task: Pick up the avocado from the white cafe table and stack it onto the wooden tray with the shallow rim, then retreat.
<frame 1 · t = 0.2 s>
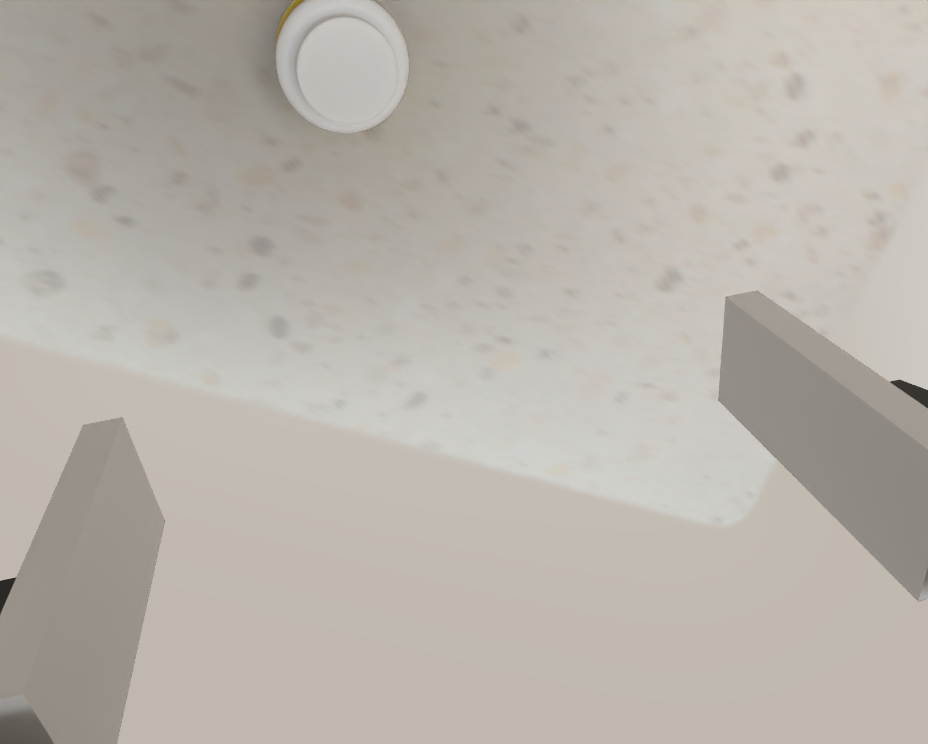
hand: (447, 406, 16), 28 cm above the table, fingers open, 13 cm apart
supplement bottle: (332, 47, 38), on the table
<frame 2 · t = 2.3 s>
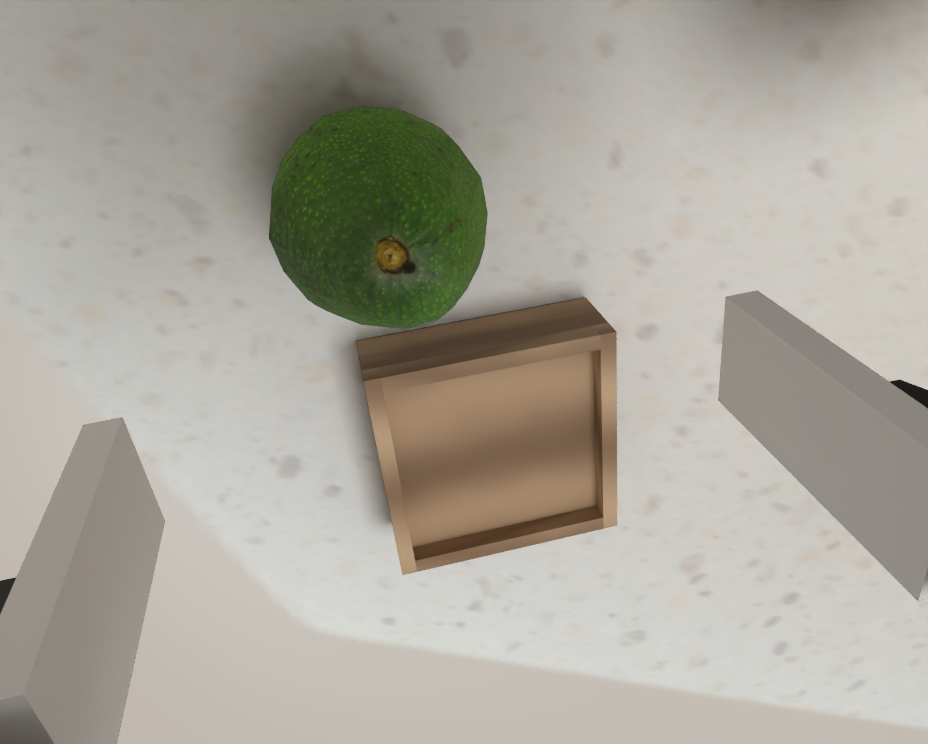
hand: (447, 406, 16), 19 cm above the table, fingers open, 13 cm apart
wooden tray: (483, 417, 39), on the table
avocado: (365, 183, 32), on the table
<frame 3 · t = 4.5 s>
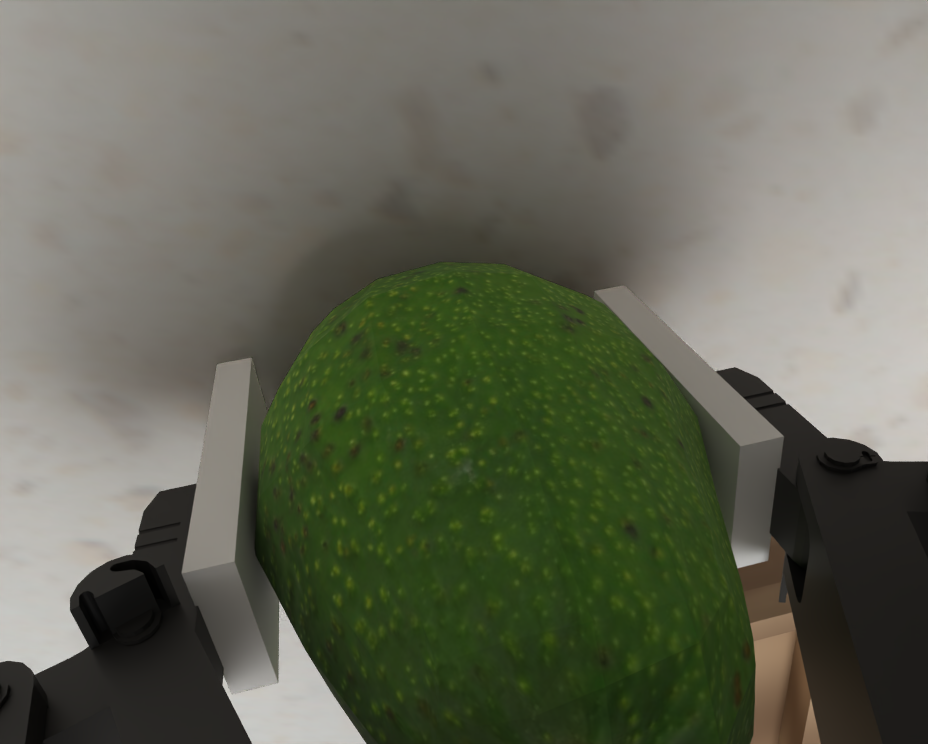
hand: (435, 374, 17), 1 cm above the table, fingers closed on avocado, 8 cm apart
wooden tray: (597, 670, 25), on the table
avocado: (429, 355, 18), on the table, touching gripper
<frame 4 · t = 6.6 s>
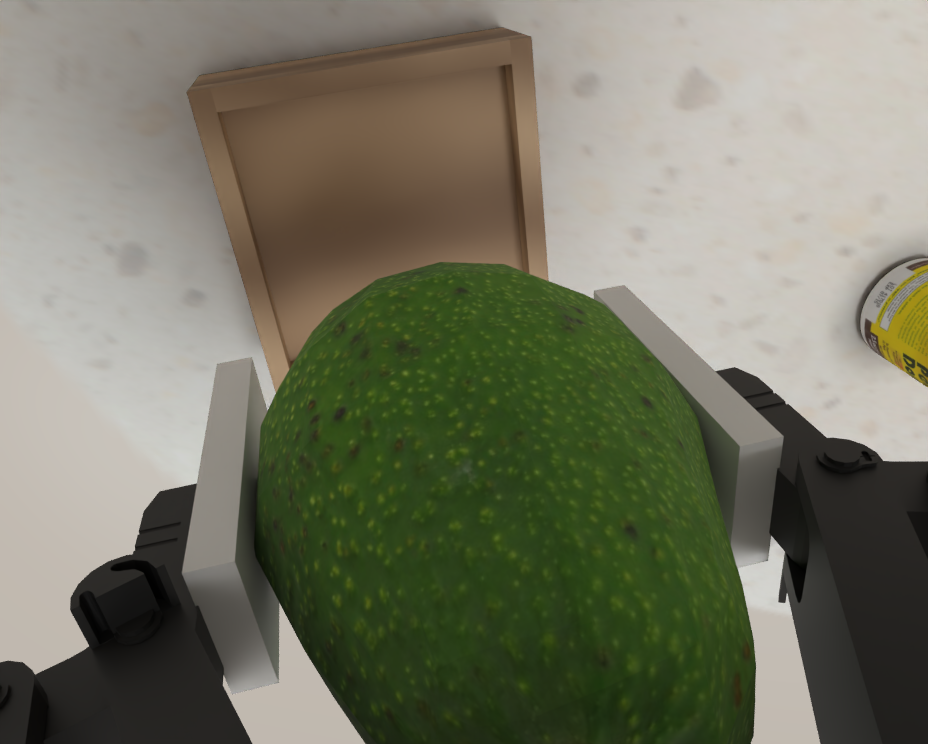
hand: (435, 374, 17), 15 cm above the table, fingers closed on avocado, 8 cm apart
supplement bottle: (900, 302, 39), on the table
wooden tray: (381, 199, 31), on the table
avocado: (428, 356, 18), point 14 cm above the table, touching gripper
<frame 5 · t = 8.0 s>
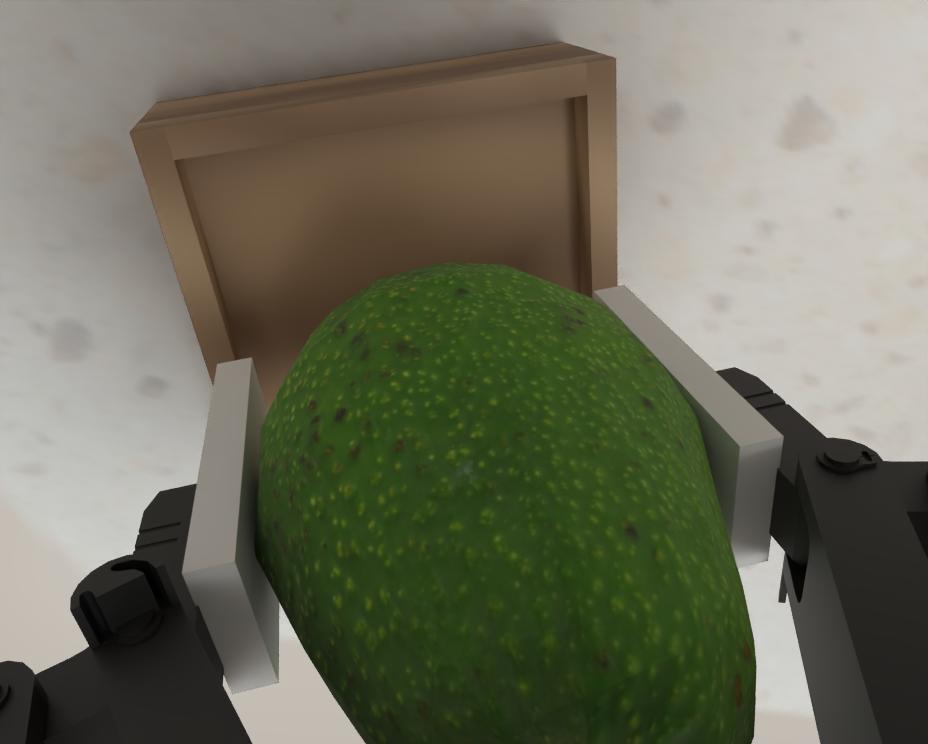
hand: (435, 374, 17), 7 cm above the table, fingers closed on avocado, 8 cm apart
wooden tray: (398, 262, 24), on the table
avocado: (429, 356, 18), point 6 cm above the table, touching gripper
when the fingers open (6 cm above the table, at t = 8.8 s): avocado drops 2 cm, resting on wooden tray.
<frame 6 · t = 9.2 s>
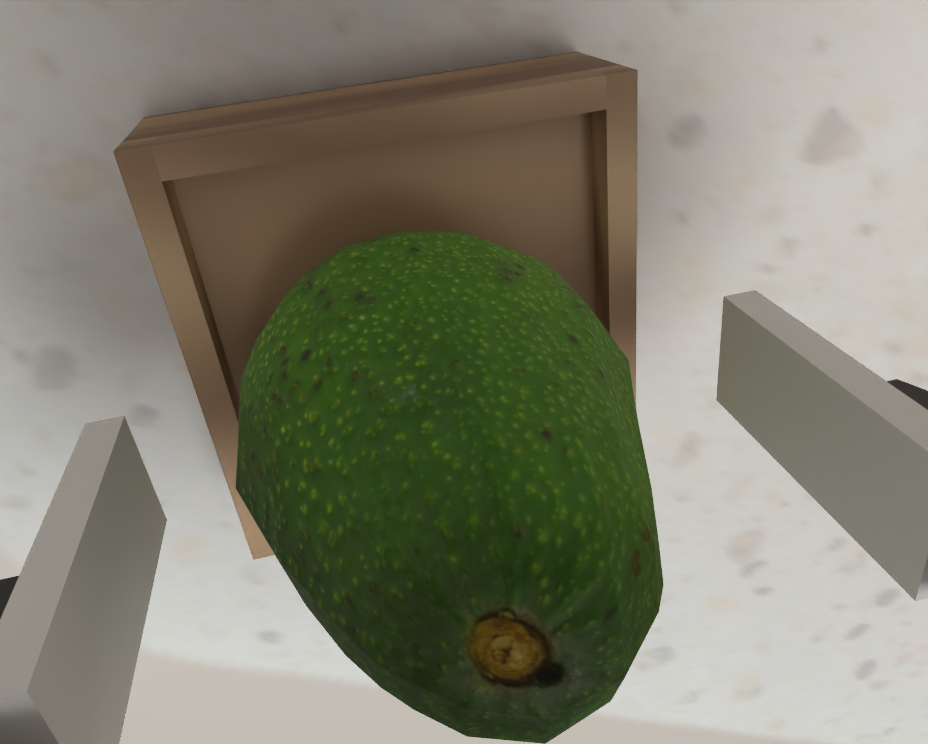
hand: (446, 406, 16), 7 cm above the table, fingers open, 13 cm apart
wooden tray: (402, 284, 22), on the table
avocado: (398, 323, 20), point 3 cm above the table, touching wooden tray
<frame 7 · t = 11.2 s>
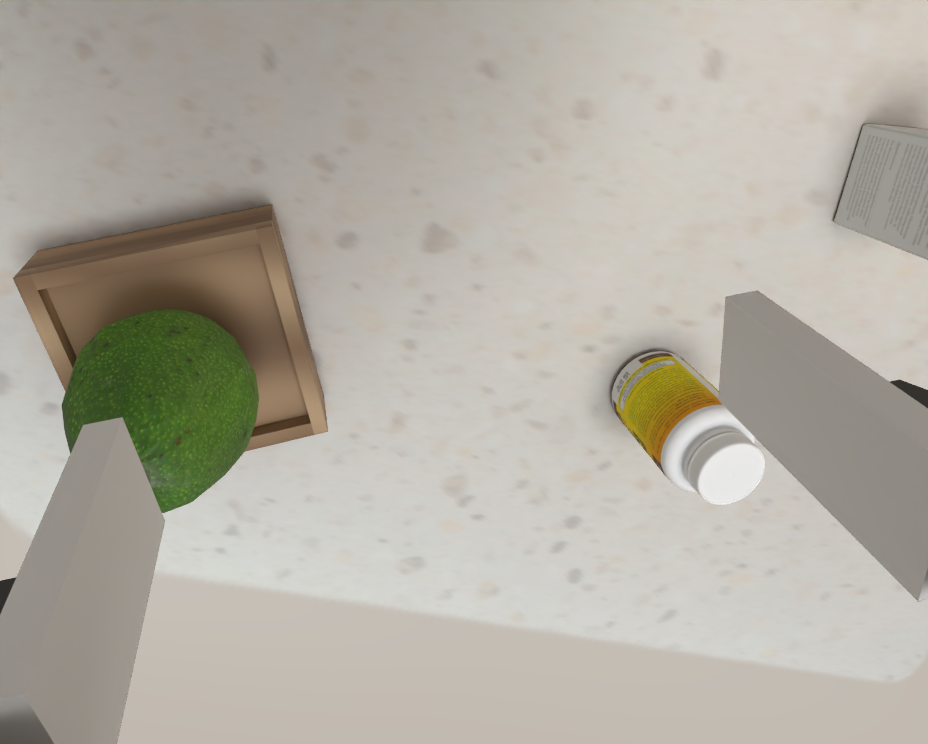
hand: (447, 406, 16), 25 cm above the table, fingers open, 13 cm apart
supplement bottle: (647, 384, 49), on the table
skincare box: (873, 173, 45), on the table
wooden tray: (193, 329, 40), on the table
avocado: (177, 352, 37), point 3 cm above the table, touching wooden tray
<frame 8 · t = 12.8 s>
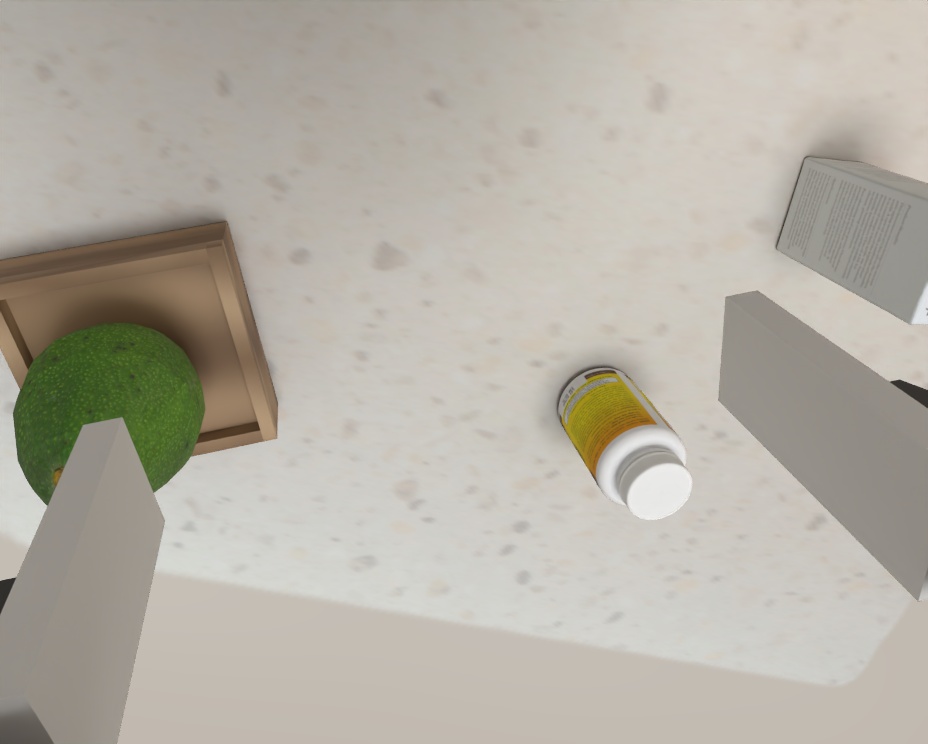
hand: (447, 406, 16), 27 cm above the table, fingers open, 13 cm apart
supplement bottle: (593, 399, 50), on the table
skincare box: (815, 203, 47), on the table
wooden tray: (150, 337, 42), on the table
avocado: (132, 360, 39), point 3 cm above the table, touching wooden tray
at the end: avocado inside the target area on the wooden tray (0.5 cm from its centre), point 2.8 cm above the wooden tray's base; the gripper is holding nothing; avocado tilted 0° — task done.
